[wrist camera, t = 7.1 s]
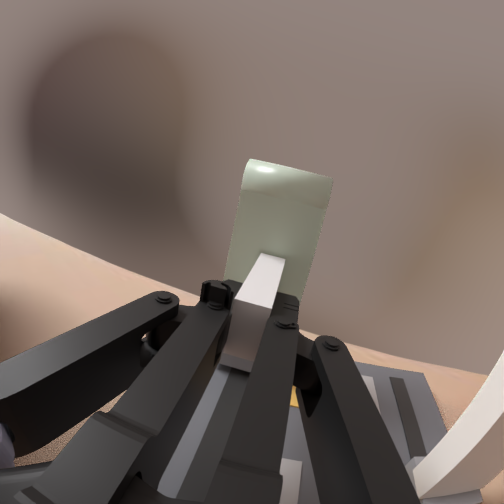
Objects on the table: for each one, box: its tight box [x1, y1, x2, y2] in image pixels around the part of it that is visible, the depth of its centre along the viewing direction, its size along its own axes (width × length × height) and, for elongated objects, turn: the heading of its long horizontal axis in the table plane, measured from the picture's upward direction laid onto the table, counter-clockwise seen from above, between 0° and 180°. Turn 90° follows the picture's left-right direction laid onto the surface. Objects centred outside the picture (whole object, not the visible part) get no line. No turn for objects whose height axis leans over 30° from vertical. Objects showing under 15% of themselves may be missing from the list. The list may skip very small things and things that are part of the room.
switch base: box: [157, 361, 447, 504], centre depth 14 cm, size 20×20×2 cm
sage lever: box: [219, 159, 333, 372], centre depth 19 cm, size 4×5×13 cm
